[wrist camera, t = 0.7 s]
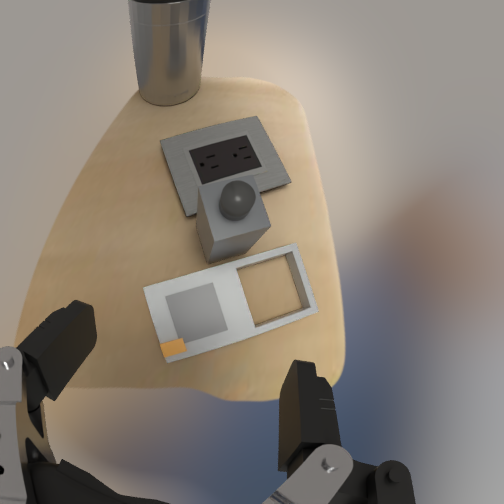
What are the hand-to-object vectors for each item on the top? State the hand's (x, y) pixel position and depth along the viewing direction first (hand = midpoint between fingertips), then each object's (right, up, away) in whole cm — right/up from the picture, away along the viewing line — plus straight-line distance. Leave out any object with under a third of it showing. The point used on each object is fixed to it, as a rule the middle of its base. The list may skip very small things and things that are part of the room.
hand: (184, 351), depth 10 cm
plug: (-1, +5, +22) cm, 23 cm away
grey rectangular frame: (0, -2, +21) cm, 21 cm away
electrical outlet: (-1, +14, +24) cm, 28 cm away
